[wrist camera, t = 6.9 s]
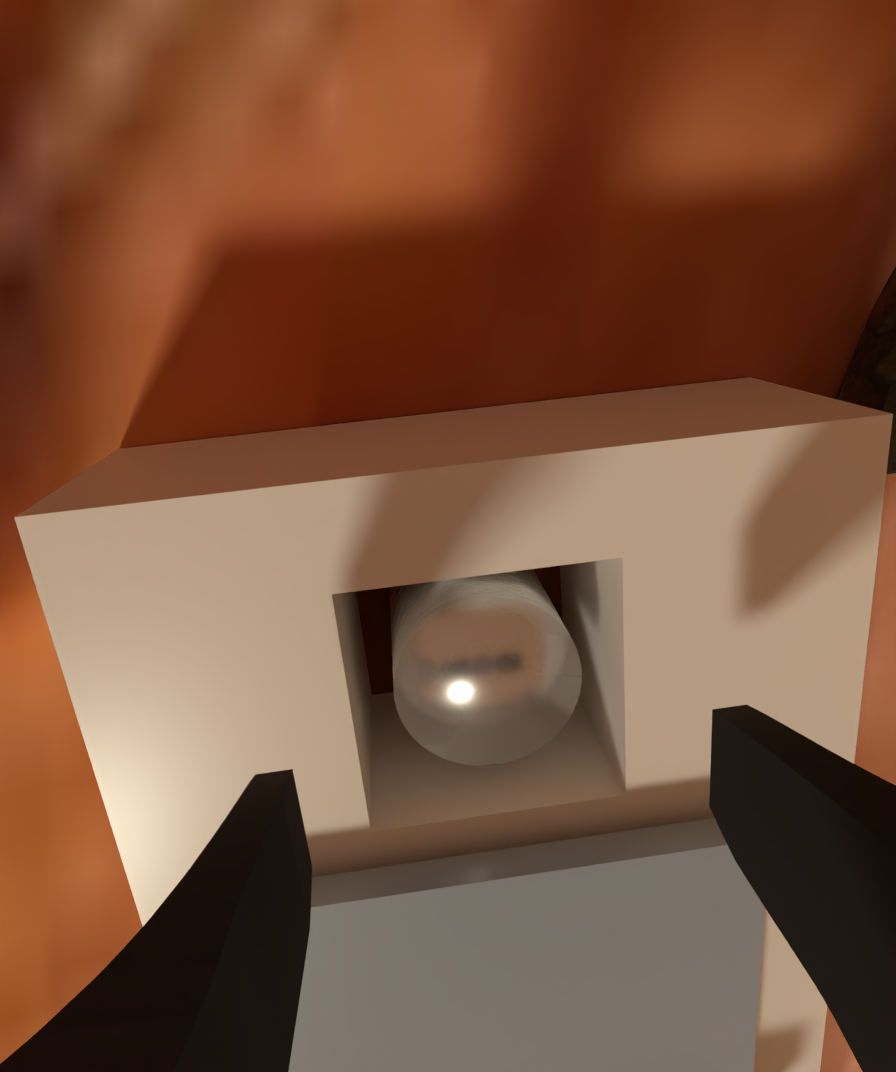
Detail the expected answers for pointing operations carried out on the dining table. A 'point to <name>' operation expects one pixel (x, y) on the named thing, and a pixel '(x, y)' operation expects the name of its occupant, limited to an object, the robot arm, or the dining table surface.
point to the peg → (482, 666)
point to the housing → (457, 552)
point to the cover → (538, 960)
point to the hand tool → (876, 364)
